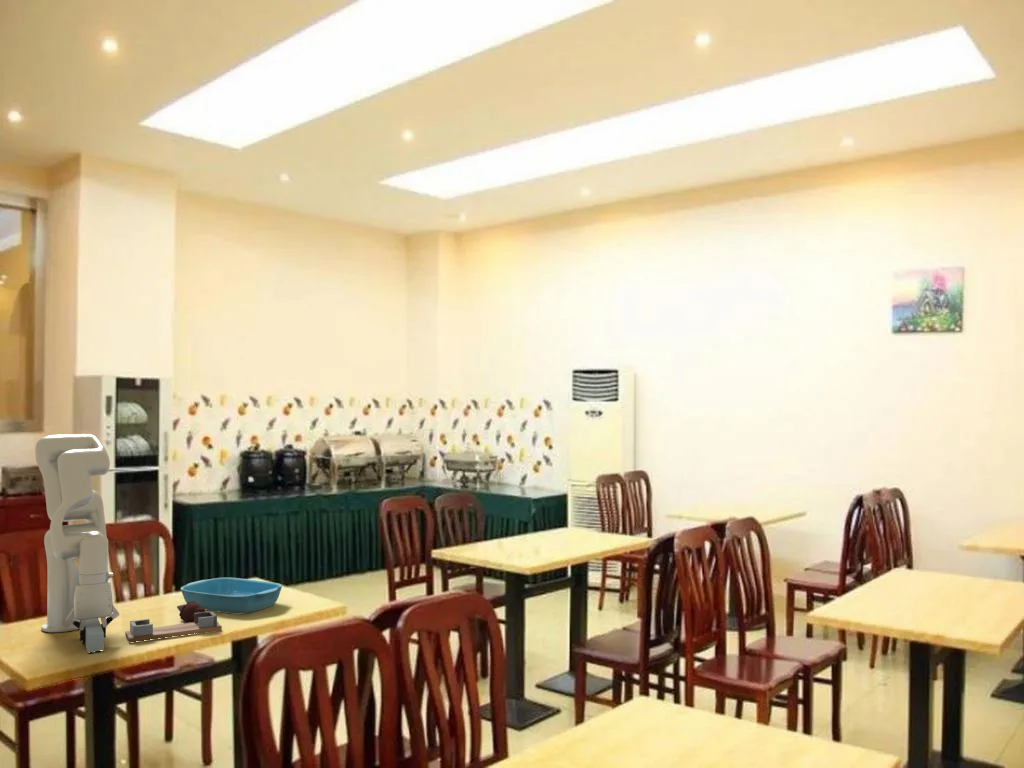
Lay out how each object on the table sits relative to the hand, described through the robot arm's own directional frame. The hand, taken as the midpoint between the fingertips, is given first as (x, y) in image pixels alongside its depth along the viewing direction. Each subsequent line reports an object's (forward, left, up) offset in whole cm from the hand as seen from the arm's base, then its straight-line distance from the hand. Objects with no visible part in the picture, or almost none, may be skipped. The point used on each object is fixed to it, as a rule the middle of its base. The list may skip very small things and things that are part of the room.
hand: (92, 641), depth 248 cm
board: (+1, +22, -1) cm, 22 cm away
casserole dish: (-26, +45, -1) cm, 52 cm away
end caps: (+1, +22, +1) cm, 22 cm away
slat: (0, 0, 0) cm, 0 cm away
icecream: (-10, +29, -1) cm, 31 cm away
